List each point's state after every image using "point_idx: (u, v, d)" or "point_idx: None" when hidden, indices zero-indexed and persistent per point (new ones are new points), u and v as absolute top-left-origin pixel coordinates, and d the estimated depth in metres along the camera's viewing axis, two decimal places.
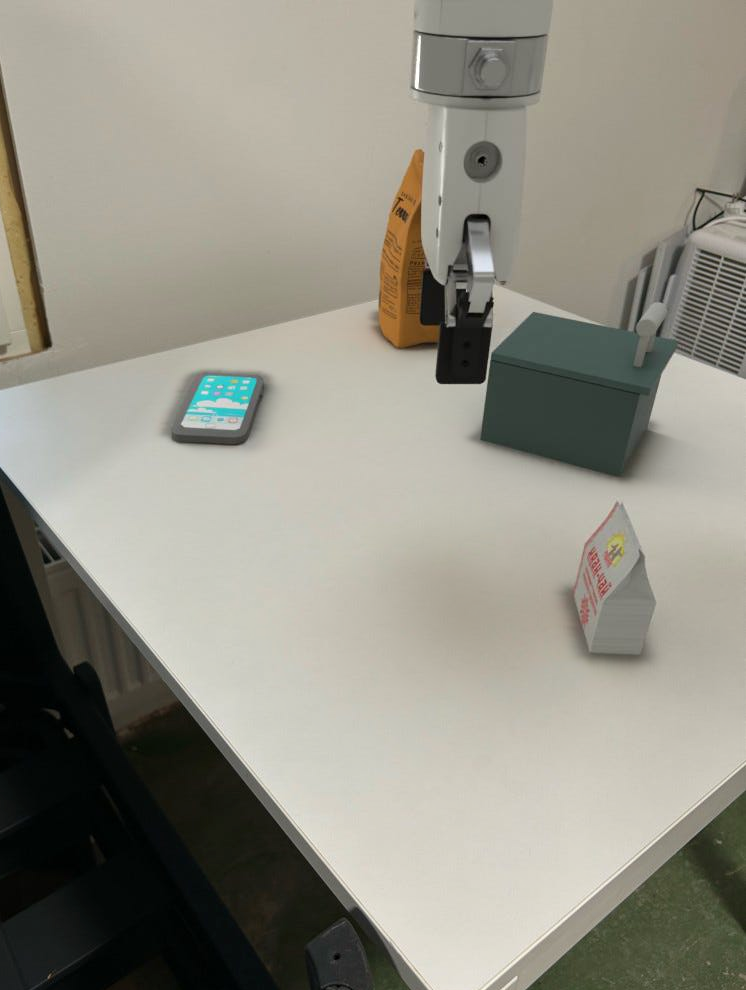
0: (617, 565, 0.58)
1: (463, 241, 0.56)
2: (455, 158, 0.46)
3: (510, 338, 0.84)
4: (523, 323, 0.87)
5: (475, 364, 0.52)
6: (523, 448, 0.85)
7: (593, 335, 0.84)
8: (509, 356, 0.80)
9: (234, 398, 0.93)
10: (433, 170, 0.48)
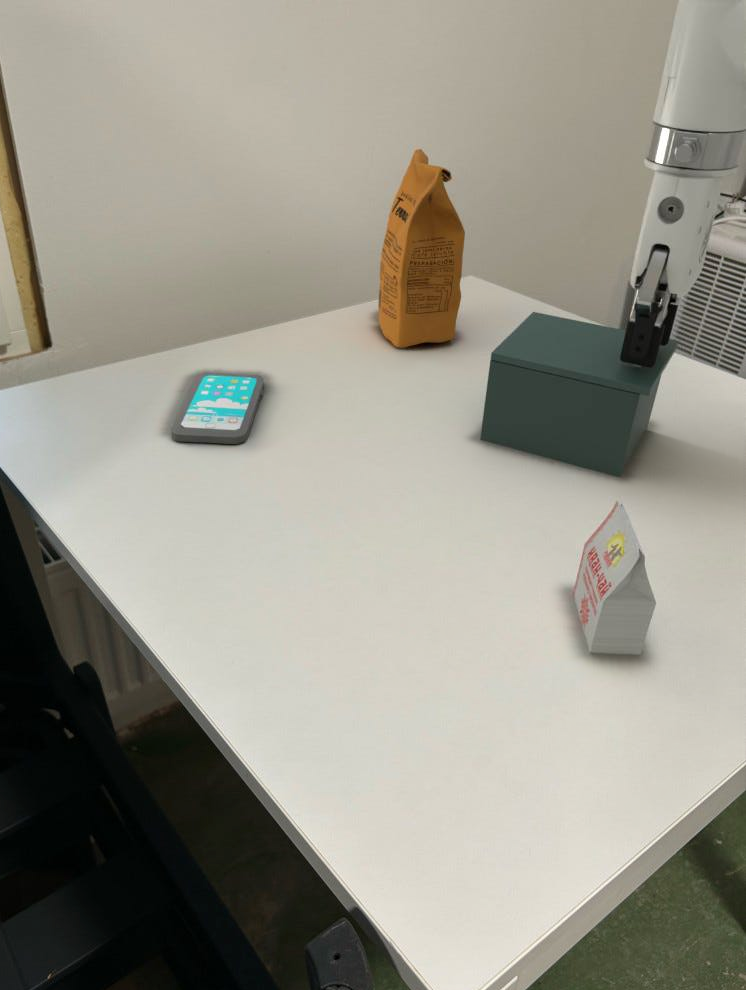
0: (617, 565, 0.58)
1: None
2: (653, 205, 0.69)
3: (510, 338, 0.84)
4: (523, 323, 0.87)
5: (645, 351, 0.76)
6: (523, 448, 0.85)
7: (593, 335, 0.84)
8: (509, 356, 0.80)
9: (234, 398, 0.93)
10: None
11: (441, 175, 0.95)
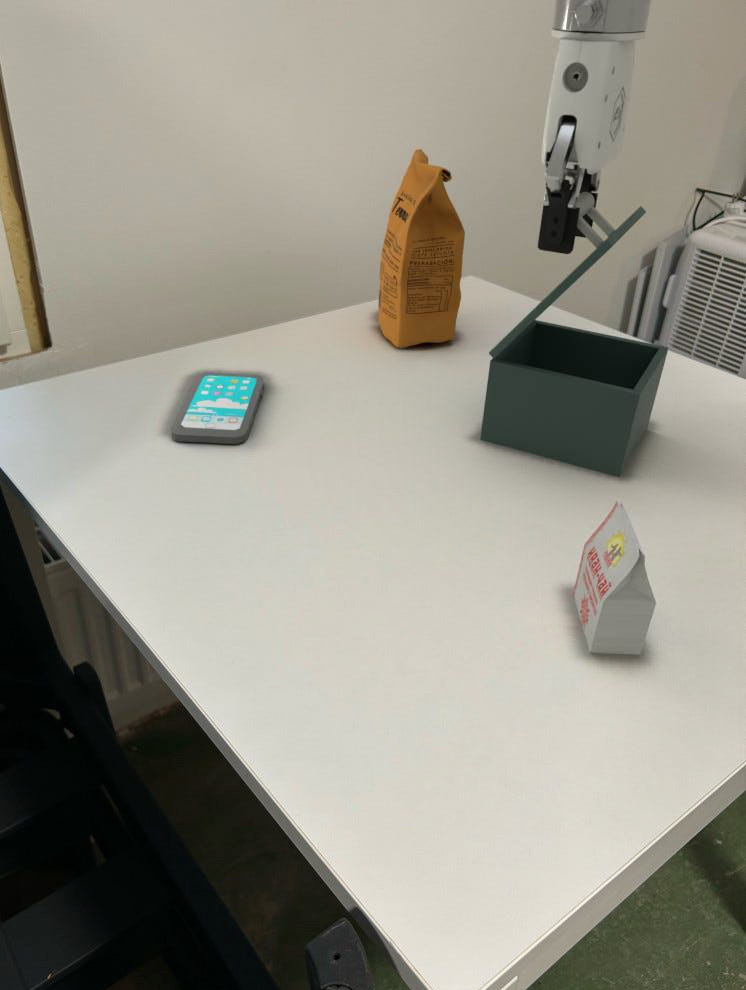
0: (617, 565, 0.58)
1: None
2: (558, 74, 0.67)
3: None
4: None
5: (561, 236, 0.74)
6: (523, 448, 0.85)
7: None
8: (501, 341, 0.80)
9: (234, 398, 0.93)
10: None
11: (441, 175, 0.95)
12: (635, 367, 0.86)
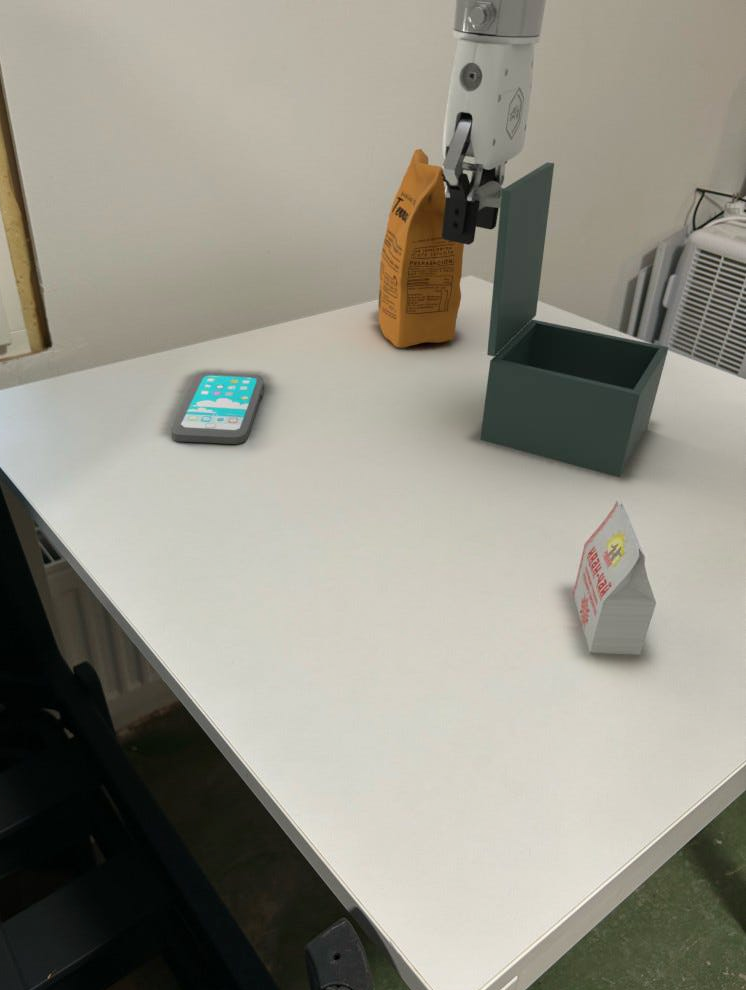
0: (617, 565, 0.58)
1: None
2: (455, 72, 0.71)
3: None
4: None
5: (462, 227, 0.78)
6: (523, 448, 0.85)
7: None
8: (489, 337, 0.80)
9: (234, 398, 0.93)
10: None
11: (441, 175, 0.95)
12: (635, 367, 0.86)
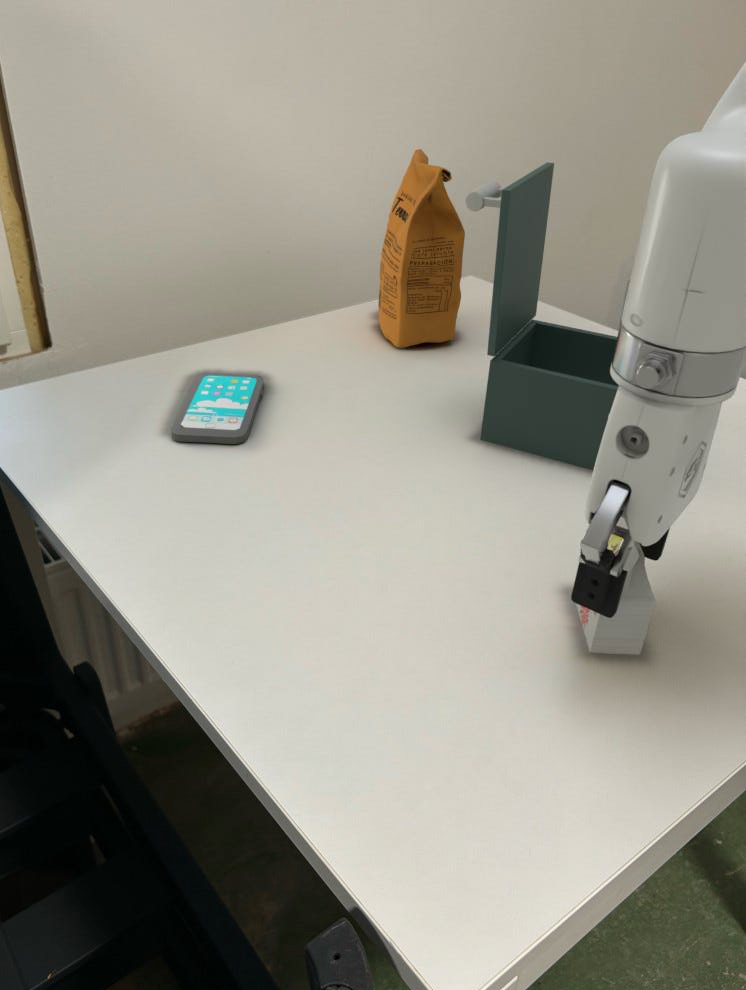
0: None
1: None
2: (611, 431, 0.51)
3: None
4: None
5: (600, 600, 0.57)
6: (523, 448, 0.85)
7: None
8: (489, 337, 0.80)
9: (234, 398, 0.93)
10: None
11: (441, 175, 0.95)
12: None
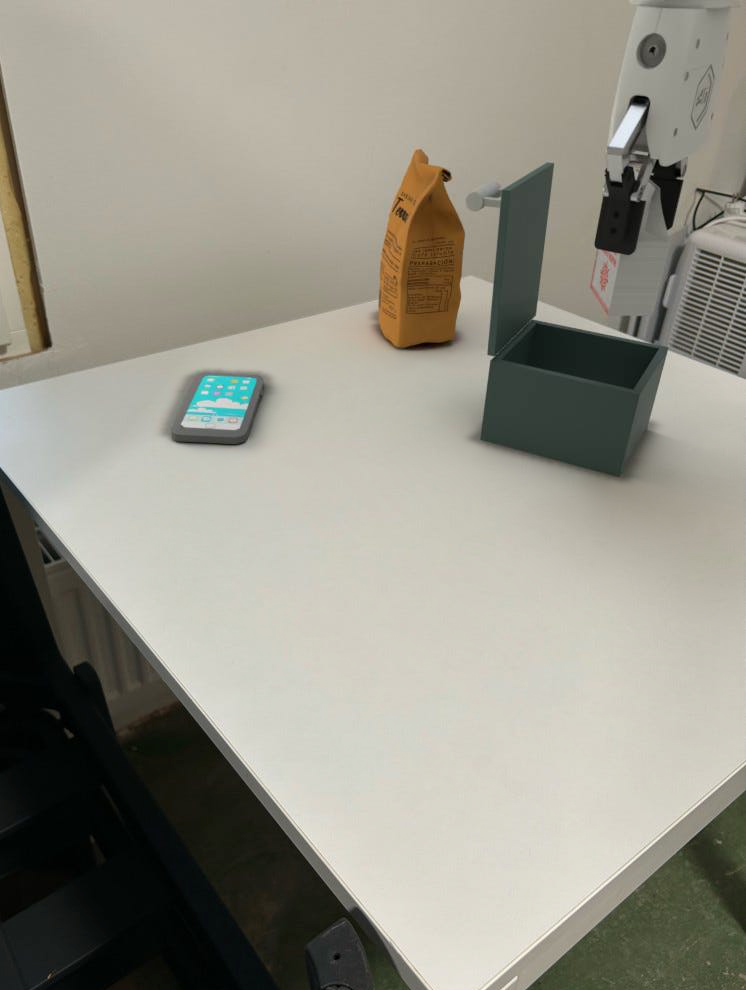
0: None
1: None
2: (631, 47, 0.57)
3: None
4: None
5: (621, 233, 0.63)
6: (523, 448, 0.85)
7: None
8: (489, 337, 0.80)
9: (234, 398, 0.93)
10: None
11: (441, 175, 0.95)
12: (635, 367, 0.86)
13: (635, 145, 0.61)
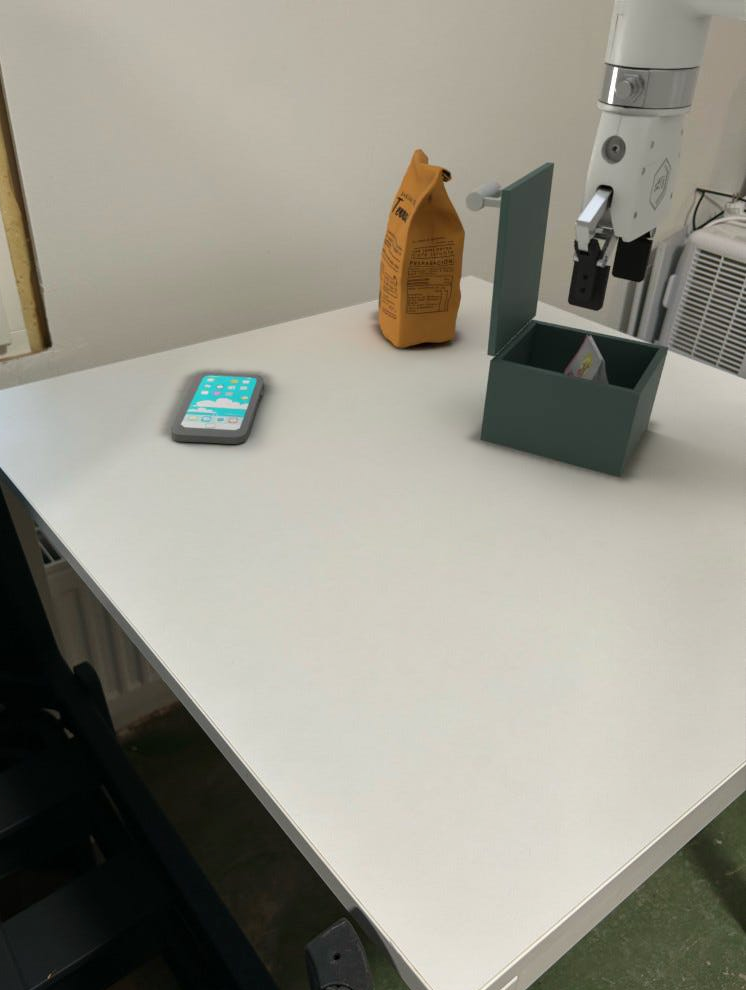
0: (586, 374, 0.81)
1: None
2: (597, 145, 0.68)
3: None
4: None
5: (590, 293, 0.73)
6: (523, 448, 0.85)
7: None
8: (489, 337, 0.80)
9: (234, 398, 0.93)
10: None
11: (441, 175, 0.95)
12: (635, 367, 0.86)
13: (603, 223, 0.73)
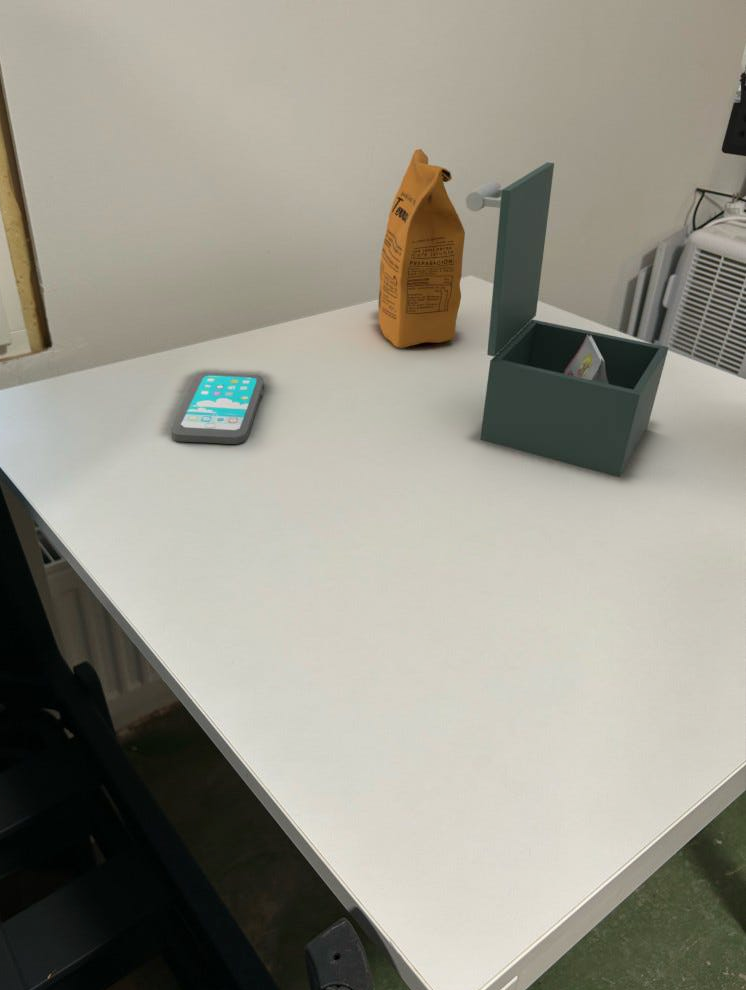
0: (586, 374, 0.81)
1: None
2: None
3: None
4: None
5: None
6: (523, 448, 0.85)
7: None
8: (489, 337, 0.80)
9: (234, 398, 0.93)
10: None
11: (441, 175, 0.95)
12: (635, 367, 0.86)
13: None
